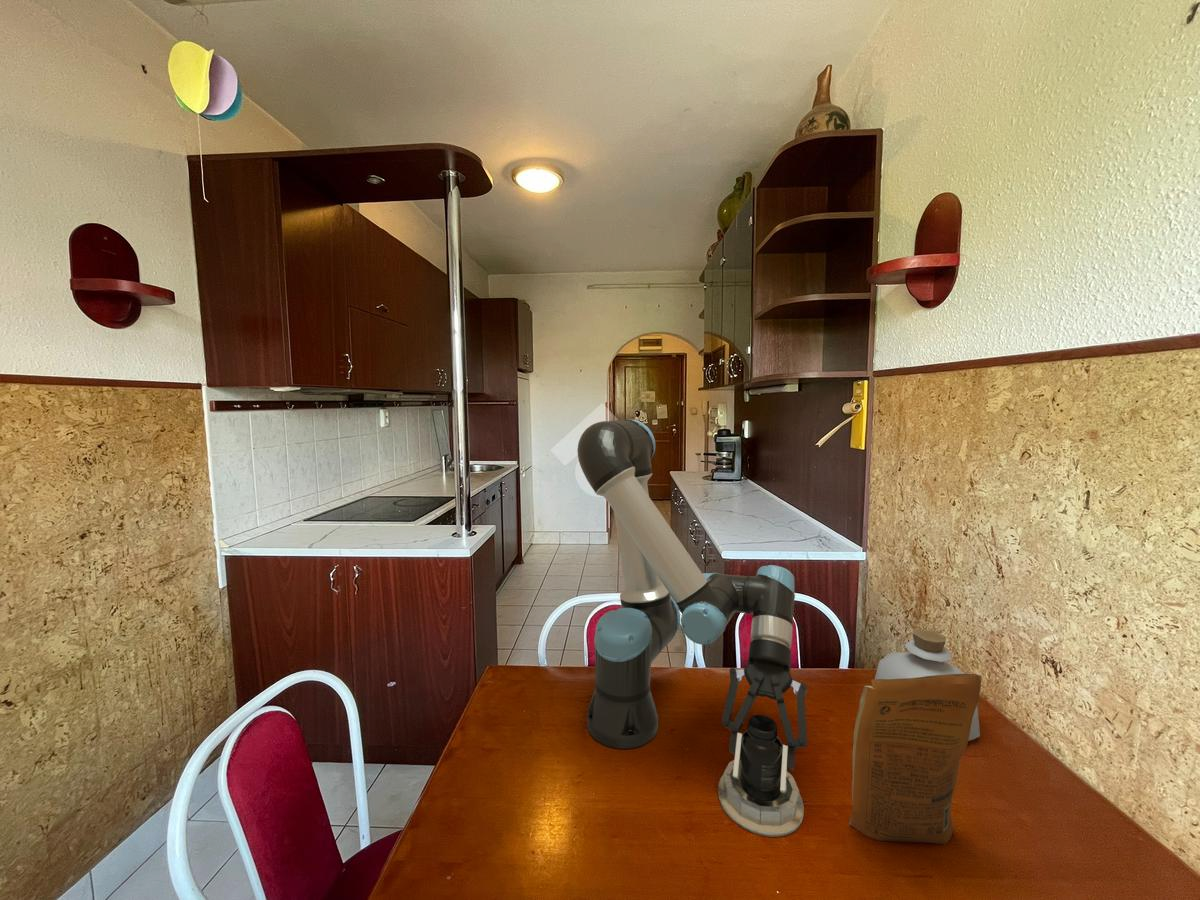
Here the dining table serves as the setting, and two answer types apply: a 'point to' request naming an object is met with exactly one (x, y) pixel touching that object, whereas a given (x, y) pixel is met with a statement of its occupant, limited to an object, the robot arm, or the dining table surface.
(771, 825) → the silver bowl
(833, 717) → the dining table surface
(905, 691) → the pancake mix bag
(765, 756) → the supplement bottle
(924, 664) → the bottle
